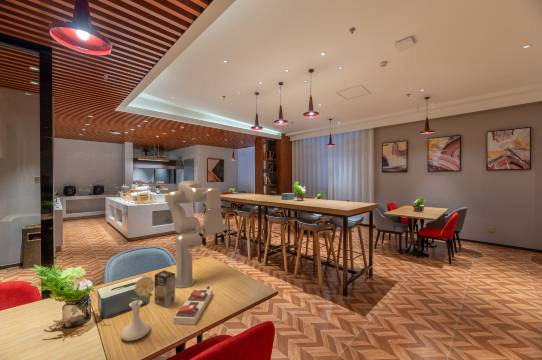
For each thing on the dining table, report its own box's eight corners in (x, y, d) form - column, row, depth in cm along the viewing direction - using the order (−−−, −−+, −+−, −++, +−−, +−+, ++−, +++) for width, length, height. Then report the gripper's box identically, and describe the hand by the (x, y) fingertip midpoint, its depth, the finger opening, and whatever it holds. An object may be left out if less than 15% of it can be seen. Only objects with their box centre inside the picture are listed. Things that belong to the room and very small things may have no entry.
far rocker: (190, 296, 126) (190, 293, 126) (193, 292, 131) (194, 289, 131) (202, 299, 126) (203, 296, 126) (205, 295, 130) (206, 292, 130)
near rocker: (178, 314, 112) (177, 311, 112) (182, 309, 117) (181, 306, 117) (192, 312, 112) (192, 308, 112) (196, 307, 116) (195, 303, 116)
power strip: (173, 323, 111) (173, 315, 111) (200, 287, 147) (200, 280, 147) (194, 324, 110) (194, 316, 110) (216, 287, 146) (216, 281, 146)
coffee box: (153, 303, 127) (153, 274, 127) (163, 298, 133) (163, 269, 133) (166, 308, 124) (166, 277, 123) (175, 302, 129) (175, 273, 129)
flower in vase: (118, 347, 96) (117, 285, 95) (123, 329, 106) (122, 274, 105) (154, 338, 101) (154, 280, 100) (155, 322, 111) (155, 270, 111)
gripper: (226, 209, 134) (226, 240, 134) (194, 212, 124) (195, 244, 124) (231, 211, 127) (231, 243, 127) (198, 213, 118) (199, 248, 118)
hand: (213, 243), depth 126 cm, fingers open, 9 cm apart
